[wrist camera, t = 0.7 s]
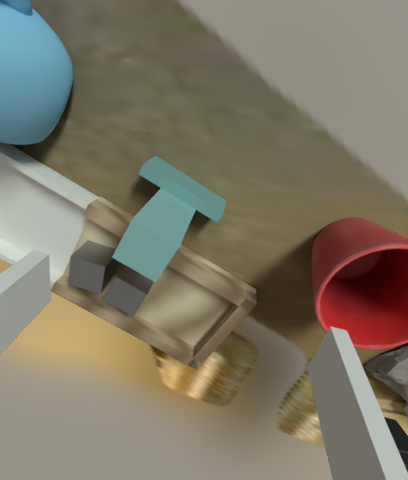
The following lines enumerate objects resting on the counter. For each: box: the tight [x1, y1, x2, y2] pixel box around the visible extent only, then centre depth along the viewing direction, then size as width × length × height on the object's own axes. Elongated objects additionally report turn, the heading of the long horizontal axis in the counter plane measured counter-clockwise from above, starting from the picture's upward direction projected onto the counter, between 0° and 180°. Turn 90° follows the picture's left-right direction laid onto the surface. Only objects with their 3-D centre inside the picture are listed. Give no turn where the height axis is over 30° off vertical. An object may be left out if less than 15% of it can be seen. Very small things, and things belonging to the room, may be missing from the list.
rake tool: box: [112, 156, 226, 282], centre depth 28 cm, size 5×9×12 cm, turn 58°
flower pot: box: [311, 218, 408, 349], centre depth 29 cm, size 11×11×10 cm
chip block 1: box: [68, 240, 117, 294], centre depth 35 cm, size 4×4×4 cm
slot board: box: [51, 196, 257, 370], centre depth 38 cm, size 22×14×3 cm, turn 58°
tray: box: [0, 142, 99, 287], centre depth 36 cm, size 12×14×2 cm
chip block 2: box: [104, 265, 154, 316], centre depth 36 cm, size 4×4×4 cm
